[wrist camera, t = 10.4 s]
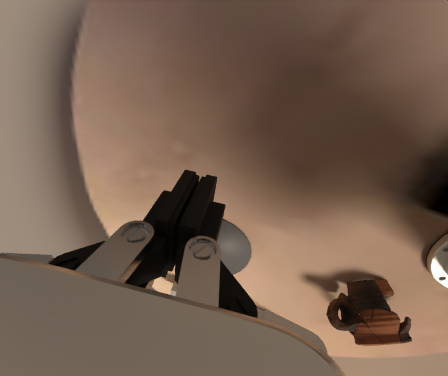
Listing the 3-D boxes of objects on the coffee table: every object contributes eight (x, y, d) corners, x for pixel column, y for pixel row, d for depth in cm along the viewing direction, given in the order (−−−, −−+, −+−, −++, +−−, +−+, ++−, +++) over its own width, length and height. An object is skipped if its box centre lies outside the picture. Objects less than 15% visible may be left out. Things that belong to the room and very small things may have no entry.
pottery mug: (408, 275, 36) (437, 341, 32) (371, 285, 45) (390, 339, 40) (330, 281, 35) (349, 350, 31) (306, 290, 43) (319, 346, 39)
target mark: (261, 229, 35) (261, 230, 35) (240, 283, 43) (240, 284, 42) (173, 206, 36) (172, 206, 35) (166, 264, 43) (166, 264, 43)
